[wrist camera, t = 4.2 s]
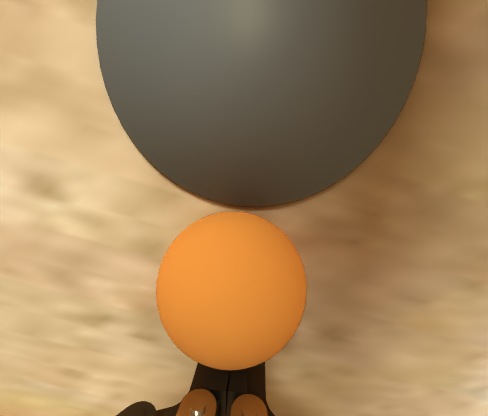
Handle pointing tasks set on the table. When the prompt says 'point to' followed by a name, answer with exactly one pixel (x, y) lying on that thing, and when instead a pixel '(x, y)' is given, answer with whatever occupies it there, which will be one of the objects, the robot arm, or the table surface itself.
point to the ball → (231, 290)
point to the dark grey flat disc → (258, 88)
